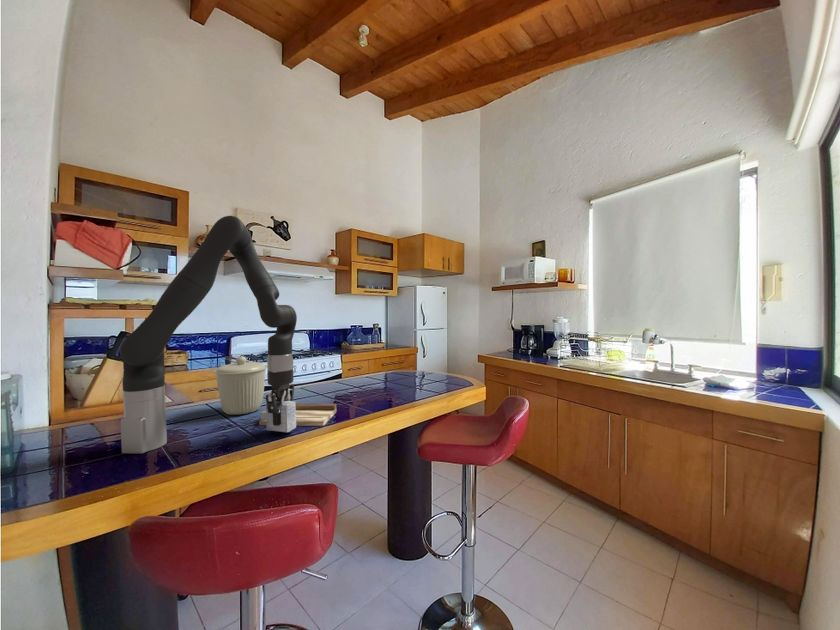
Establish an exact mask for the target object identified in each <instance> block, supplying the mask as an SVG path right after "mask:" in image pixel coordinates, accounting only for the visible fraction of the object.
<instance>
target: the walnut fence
mask: <svg viewBox="0 0 840 630" xmlns="http://www.w3.org/2000/svg"><path fill="white" fill-rule="evenodd" d="M335 409H336V410H337V403H296V410H335Z"/></svg>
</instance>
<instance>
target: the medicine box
mask: <svg viewBox="0 0 840 630" xmlns="http://www.w3.org/2000/svg"><path fill="white" fill-rule="evenodd" d="M277 403H279V402H277ZM296 404H297V403H296V401H294V400H293V401H285V400H284V403H283V405H282V406H281V412H280V413H281V424H280V425H279V426H274V425H273V414H272V413H268V409H267V403H265V410H266V427H265V428H266V431H271V432H281V433H290V432H291V431H293V430H295V429H296V428H297V426H296ZM271 409H272V407H271ZM277 409H278V405H277Z"/></svg>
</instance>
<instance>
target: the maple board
mask: <svg viewBox="0 0 840 630" xmlns="http://www.w3.org/2000/svg"><path fill="white" fill-rule="evenodd" d="M336 413H337V408H336V409H335V410H296V427H299V426H300V427H301V426H304V427H305V426H306V427H307V426H309V427H314V426H315V427H324V426H325V425H326V424H327V423H328V422H329V421H330V419H331V418H333V416H334V415H335V414H336ZM258 422H259V426H263V427H264V426H266V420H261V419H260V420H259V421H258Z"/></svg>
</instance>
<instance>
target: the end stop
mask: <svg viewBox="0 0 840 630" xmlns="http://www.w3.org/2000/svg"><path fill="white" fill-rule="evenodd" d="M260 420H266V409H264V410H263V411H261V412H260Z"/></svg>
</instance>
